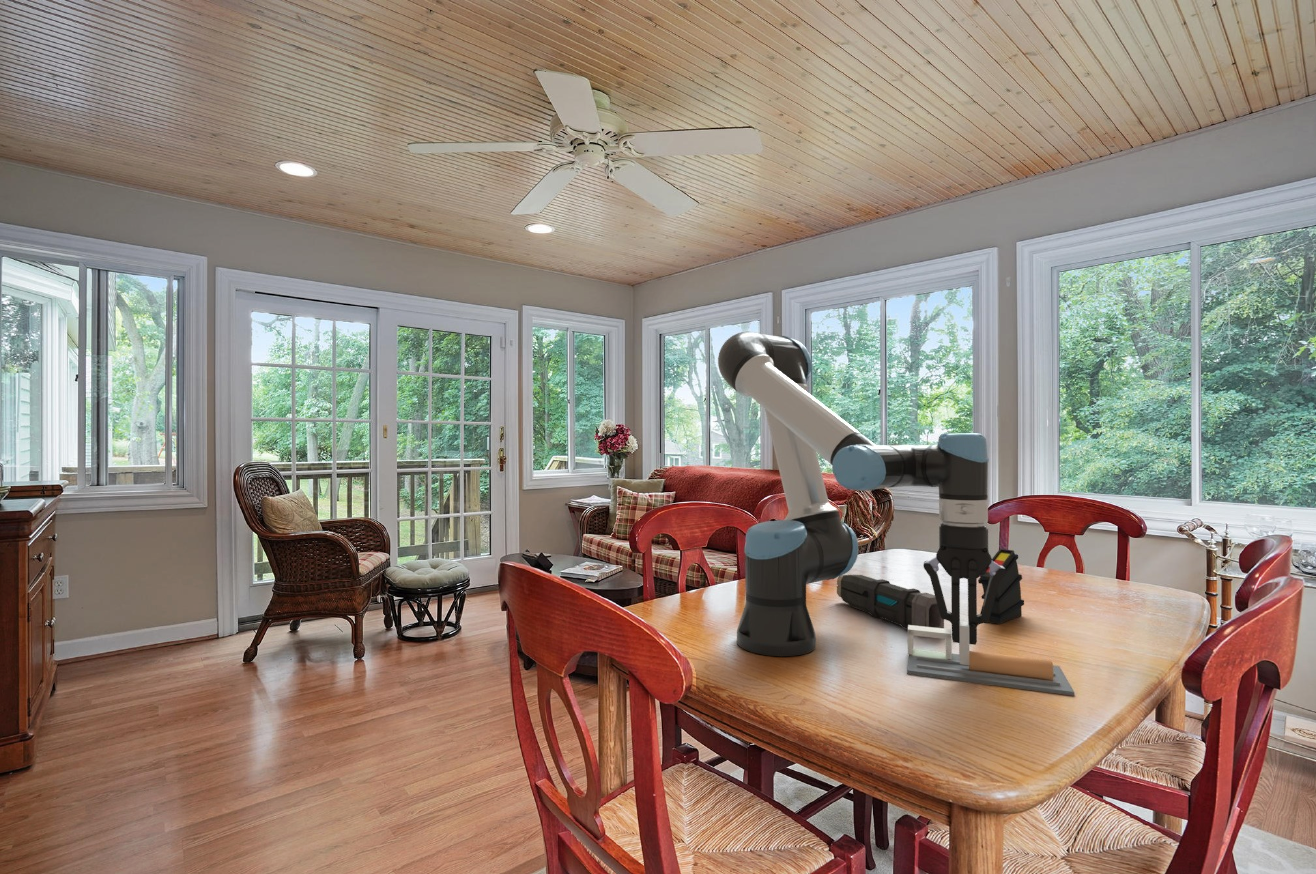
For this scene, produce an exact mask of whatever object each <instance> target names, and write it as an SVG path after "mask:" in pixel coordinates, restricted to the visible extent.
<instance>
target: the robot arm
mask: <svg viewBox="0 0 1316 874" xmlns="http://www.w3.org/2000/svg"><path fill="white" fill-rule="evenodd" d="M717 366H718V369H719V373H720V374H721V377H722V378H723V379H724V381H725V382H726V383H727V385H728V386H730V387H731V388H732V389H733V390H734V391H735V392H737V393H738V394H739V395H741V396H742V397H751V398H752V399H753V400H754V401H755V402H756V403H758V404H759V406H761V407H763V408H764V412H765V417H766V419H767V424H768V429H769V432H770V437H771V441H772V445H773V449H774V450H773V451H774V454H775V458H776V462H777V467H778V471H779V475H780V479H781V485H782V489H783V493H784V497H785V500H786V501H785V503H786V506H787V510H788V513H787V514H786V516H785V518H784V519H777V520H774V521H772V520H767V521H763V522H760V523H759V522H758V523H756V524H754V525H752V526H750V527H749V528H748V529H747V531H746V533H745V544H744V548H743V550H744V551H743V552H744V562H745V563H744V570H745V571H744V574H745V605H744V606H743V610H742V614H741V616H740V620H739V623H738V627H737V630H736V644H737V645H738V646H739V647H740V648H741V649H743V650H745V651H747V652H751V653H754V654H758V655H763V656H770V657H794V656H801V655H805V654H808V653H811V652H812V651H814V650H815V649H816V647H817V635H816V631H815V628H814V625H813V623H812V619H811V617H810V613H809V610H808V607H807V585H808V584H813V583H817V582H821V581H830V580H834V579H836V578H837V579H838V577H839V576H841V575H846V573H849V571H851V569H852V568H853V566H854V565H855V563H856V562H857V559H858V555H859V541H858V538H857V535H856V533H855V531H854V530H853V528H852V527H849V526H848V525H849V524H847V523H845V522H843V521H842V519H841V515H840V511H839V508H836V507H835V506H833V505H832V504H831V503H830V502H829V497H828V494H827V490H826V486H825V481H824V478H823V473H822V470H821V469H822V468H821V465H820V462H819V457H818V455H819V456H820V457H822V458H823V459H824V460H825V461H826V462H828V463H829V465H831V467H832V468H831V469H832V473H833V475H834V478H835V481H836V483H838V485H840V486H841V487H843V488H845V489H847V490H851V491H861V492H864V491H865V492H866V491H871V490H878V489H879V490H880V489H890V488H900V487H901V488H902V487H925V488H926V487H927V488H928V487H929V488H938V519H939V521H941V522H942V523H940V525H939V526H938V529H939V531H938V534H939V536H938V538H939V545H938V546H939V548H938V550H937V552H936V554H935V555H936V556H935V557H933V558H932V559H930V560H925V561H923V569H924V571H925V572H926V573H927V575H928V576H929V578H930V582H931V585H932V586H931V587H932V589H933V593H934V594H933V595H935V598H936V601H937V605H938V609H939V613H940V616H941V618H942V619H944V621H948V622H949V623H951V640H952V642H953V643H956V644H957V643H958V650H959V651H958V654H959V661H960V664H963V665H970V652H969V651H970V645H974V646H975V645H976V644H977V643H978V639H977V638H978V636H977V635H978V629H977V628H978V626H979V625H983V624H988V623H990V622H989V619H990V615H991V611H992V608H993V604H994V600H995V597H996V593H997V589H998V586H999V582H1000V581H1001V579H1002V578H1003V577H1004V576H1005V574H1006V570H1005V568H1004V567H1003V566H1001V565H998V564H997V563H995V562H993V561H992V558H993V557H992V556H991V554H990V552H989V528H988V527H987V525H985V524H987V523H988V521H989V508H988V507H989V505H988V504H989V499H988V498H989V496H988V495H989V494H988V480H989V479H988V477H989V476H988V475H989V473H988V464H989V457H988V445H987V438H986V437H985V436H984V435H983V434H981V433H977V432H976V433H941V434H940V435H939V436H938V441H937V444H931V445H930V444H901V443H900V444H899V443H891V444H876V443H874V442H873V441H871V440H870V439H869V438H867V437H866V436H865V435H863V434H862V433H861V432H860V431H859V430H857V428H855V427H853V426H852V425H851V424H849V423H848V422H847V421H845V419H843V418H841V416H839V415H838V414H837V413H835V412H834V411H832V410H831V409H830V408H829V407H827V406H826V405H825V404H824V403H822V402H821V401H820V400H818V399H817V398H816V397H814V396H813V395H812V394H810V393H809V392H808V391H807V390H808V384H807V382H808V380H809V379H810V377H811V375H810V373H811V372H812V367H813V365H812V357H811V355H810V353H809V351H808V349H807V347H806V346H805V345H804V344H803V343H802V342H800V341H799V340H796V339H795V338H791V337H789V336H785V335H772V334H766V333H761V332H760V333H759V332H755V331H754V332H753V331H742V332H738V333H735V334H734V335H733V334H732V336H729V338H728V339H726V340H725V342H723V344H722V346H721V348H720V350H719V352H718V356H717ZM939 564H940V566H941V567H942V568H943V569H944V571H945V573H947V575H948V576H949V577H951V578H950V579H951V581H950V584H951V588H950V589H951V597H950V598H951V612H950V611H949V610H948V609H947V604H946V600H945V598H944V597H945V596H944V592H943V589H942V585H941V582H940V578H939V575H938V572H939ZM988 566H989V567H990V570H989V573H990V575H991V577H990V579H989V583H988V587H987V591H986V594H985V598H984V599H983V602H982V606H981V610H980V613H979V614H978V610H977V609H978V608H977V606H978V603H977V599H978V598H977V597H978V594H977V591H978V590H977V587H978V585H977V584H978V583H977V582H978V579H979V578H980V576H981V574H982V573H983V572H984V571H985V570H986V569H987V567H988ZM961 579H965V580H967V617H968V618H967V620H968V621H961V620H960V619H961V612H960V611H961V604H960V603H961V597H960V596H961V595H960V593H961V591H960V590H961V589H960V588H961V587H960V586H961V584H960V582H961V581H960V580H961Z"/></svg>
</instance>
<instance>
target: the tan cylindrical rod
mask: <svg viewBox="0 0 1316 874" xmlns="http://www.w3.org/2000/svg"><path fill="white" fill-rule="evenodd" d="M969 652H970V665H969V671H977V672H985V673H992V674H1000V675H1008V676H1016V677H1024V678H1032V679H1040V680H1048V681H1053V678H1054V671H1053V665H1054V664H1053V661H1052V660H1051V659H1043V658H1036V657H1035V658H1034V657H1026V656H1016V655H1010V654H1001V653H992V652H985V651H984V652H983V651H976V650H975V651H974V650H969Z"/></svg>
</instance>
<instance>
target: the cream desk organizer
mask: <svg viewBox="0 0 1316 874" xmlns="http://www.w3.org/2000/svg"><path fill="white" fill-rule="evenodd" d="M915 636H916V637H925V638H933V639H942V640H945V653H946V659H952V654H953V653H952V649H953V648H952V646H953V645H952V642H953V640H952V628H944V629H943V628H934V627H924V626H914V625H908V629H907V655H909V654H911V655H913V652H914V649H915V648H914V642H915V641H914V640H915V639H914V637H915Z"/></svg>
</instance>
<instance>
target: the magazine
mask: <svg viewBox="0 0 1316 874" xmlns="http://www.w3.org/2000/svg"><path fill="white" fill-rule="evenodd" d="M991 558H992V561H993V562H995V563H997V564H998V565H1001V566H1003V567H1004V568H1005V570H1006V574H1005V576H1004V577H1003V578H1002V579H1001V581H1000V582H999V586H998V589H997V593H996V597H995V600H994V604H993V608H992V611H991V615H990V619H989V622H988V623H990V624H991V623H992V624H996V625H1001V624H1003V623H1007V622H1009V621H1012V620H1014V619H1017V618H1019V617H1022V615H1023V614H1022V613H1023V612H1022V606H1024V605H1025V600H1024V599H1022V590H1021V589H1022V588H1021V583H1020V582H1021V580H1022V579H1023V576H1022V574H1021V573H1019V566H1018V562H1017V560H1018V559H1019V555H1018V554H1017V553H1015V550H1013V549H1006V548H1005V549H1004V548H1000V549H998V551H997V552H996V553H995V554H994V555H993V557H991ZM989 570H990V567H989V566H988V567H987V569H986V570H985V571H984V572H983V573H982V574H981V576H980V577H979V578H978V579H977V582H978V584H981V586H982V589H983V594H982V595H981V599H982V600H984V598H985V594H986V591H987V587H988V583H989V579H990V577H991V575H990V573H989Z"/></svg>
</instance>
